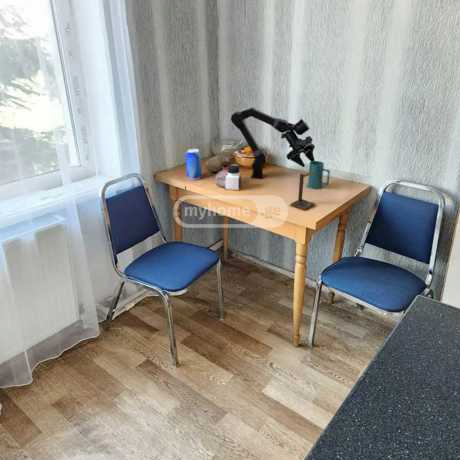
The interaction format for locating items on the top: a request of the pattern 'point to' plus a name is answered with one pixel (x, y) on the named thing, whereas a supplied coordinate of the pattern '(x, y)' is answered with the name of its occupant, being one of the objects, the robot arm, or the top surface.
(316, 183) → the mug
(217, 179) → the food item
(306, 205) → the mug stand
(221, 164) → the brown rounded lump
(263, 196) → the top surface
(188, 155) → the beer can
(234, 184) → the medicine bottle
